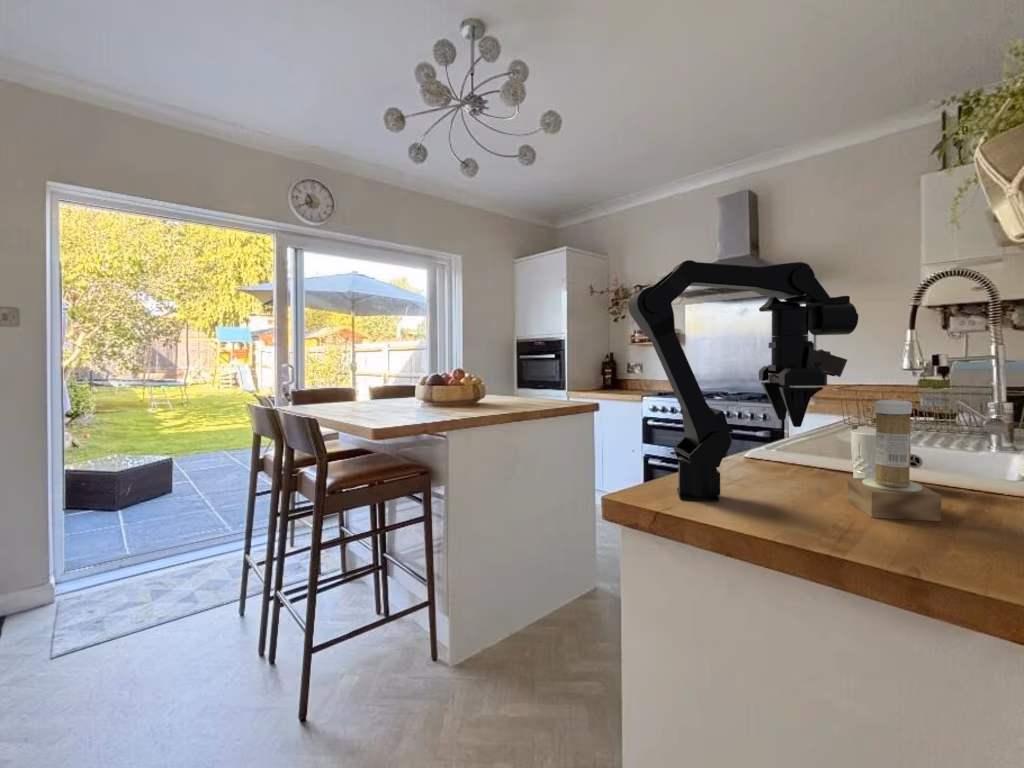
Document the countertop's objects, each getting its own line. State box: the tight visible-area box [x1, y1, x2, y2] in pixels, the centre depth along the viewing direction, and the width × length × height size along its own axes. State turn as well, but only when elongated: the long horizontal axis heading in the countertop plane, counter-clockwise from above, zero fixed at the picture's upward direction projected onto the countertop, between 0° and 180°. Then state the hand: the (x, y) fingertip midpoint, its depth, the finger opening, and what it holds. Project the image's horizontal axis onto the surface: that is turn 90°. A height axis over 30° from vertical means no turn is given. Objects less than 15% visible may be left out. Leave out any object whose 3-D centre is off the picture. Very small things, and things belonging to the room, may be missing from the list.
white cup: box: [850, 428, 876, 478], centre depth 95 cm, size 8×8×10 cm
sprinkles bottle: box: [874, 399, 913, 488], centre depth 77 cm, size 5×5×13 cm
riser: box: [846, 477, 942, 522], centre depth 79 cm, size 9×9×4 cm
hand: (789, 423), depth 88 cm, fingers open, 9 cm apart
